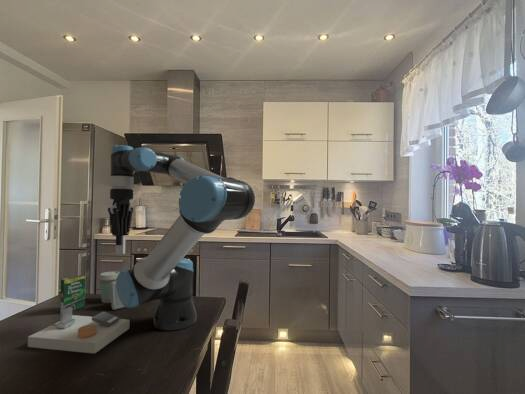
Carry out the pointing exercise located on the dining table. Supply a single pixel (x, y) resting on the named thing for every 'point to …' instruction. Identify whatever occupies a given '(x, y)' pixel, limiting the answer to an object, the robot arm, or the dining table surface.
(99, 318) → the grey flat block
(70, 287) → the coffee box
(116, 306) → the digital clock
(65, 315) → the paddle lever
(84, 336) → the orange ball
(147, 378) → the dining table surface
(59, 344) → the panel
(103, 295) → the coffee cup
